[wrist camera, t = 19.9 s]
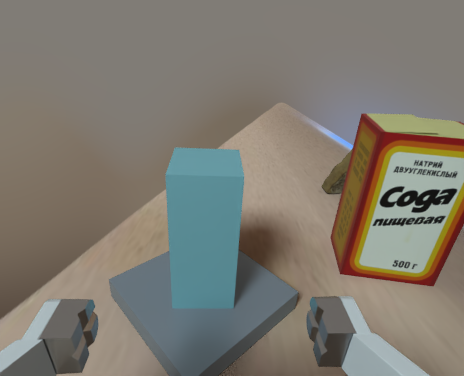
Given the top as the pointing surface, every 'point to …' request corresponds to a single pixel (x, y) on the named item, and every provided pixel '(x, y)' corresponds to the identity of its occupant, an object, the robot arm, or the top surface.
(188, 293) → the teal block
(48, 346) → the robot arm
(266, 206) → the top surface
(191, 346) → the slate tile
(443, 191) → the baking soda box
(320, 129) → the top surface
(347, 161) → the rock
